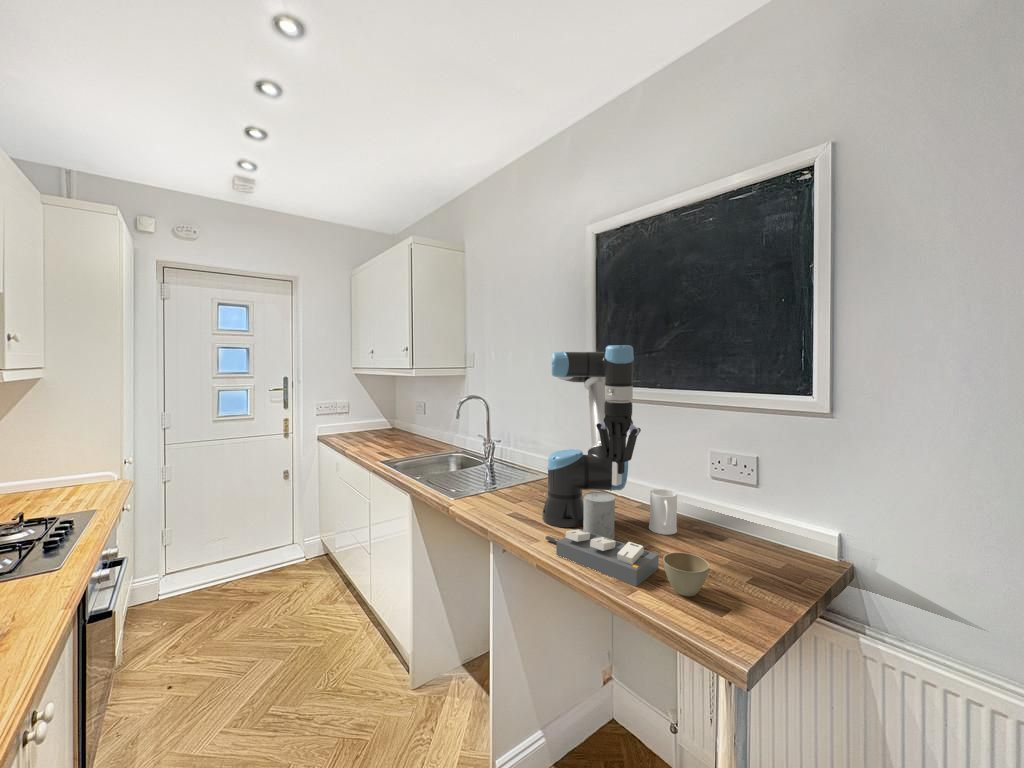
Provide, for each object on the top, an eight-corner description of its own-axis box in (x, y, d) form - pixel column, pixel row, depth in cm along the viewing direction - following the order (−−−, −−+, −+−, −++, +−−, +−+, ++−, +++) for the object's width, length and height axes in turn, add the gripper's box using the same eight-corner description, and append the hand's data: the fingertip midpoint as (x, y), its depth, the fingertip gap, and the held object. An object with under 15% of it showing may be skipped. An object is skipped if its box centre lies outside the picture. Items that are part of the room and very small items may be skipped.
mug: (679, 540, 131) (680, 501, 131) (650, 537, 134) (650, 498, 133) (675, 526, 143) (676, 489, 142) (648, 523, 145) (648, 487, 144)
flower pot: (655, 581, 107) (656, 552, 107) (694, 579, 108) (695, 551, 108) (674, 603, 97) (674, 572, 97) (717, 601, 98) (717, 570, 98)
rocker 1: (565, 537, 120) (566, 530, 120) (577, 535, 125) (578, 529, 125) (577, 541, 118) (578, 534, 118) (589, 539, 122) (590, 532, 122)
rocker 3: (617, 559, 110) (617, 553, 109) (629, 547, 114) (628, 541, 113) (632, 564, 107) (631, 558, 107) (643, 552, 111) (643, 545, 111)
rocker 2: (590, 546, 115) (590, 539, 115) (602, 543, 119) (602, 536, 119) (603, 550, 112) (604, 543, 112) (614, 547, 116) (615, 540, 117)
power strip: (532, 546, 127) (532, 532, 127) (558, 534, 136) (558, 521, 135) (636, 586, 104) (636, 569, 104) (658, 569, 113) (658, 553, 113)
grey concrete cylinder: (616, 532, 138) (616, 493, 137) (612, 544, 129) (613, 503, 128) (585, 528, 141) (586, 490, 140) (580, 539, 132) (580, 499, 131)
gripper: (590, 400, 123) (589, 482, 125) (632, 404, 114) (630, 492, 116) (605, 397, 128) (604, 476, 130) (646, 401, 119) (644, 486, 121)
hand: (616, 484), depth 123 cm, fingers closed
